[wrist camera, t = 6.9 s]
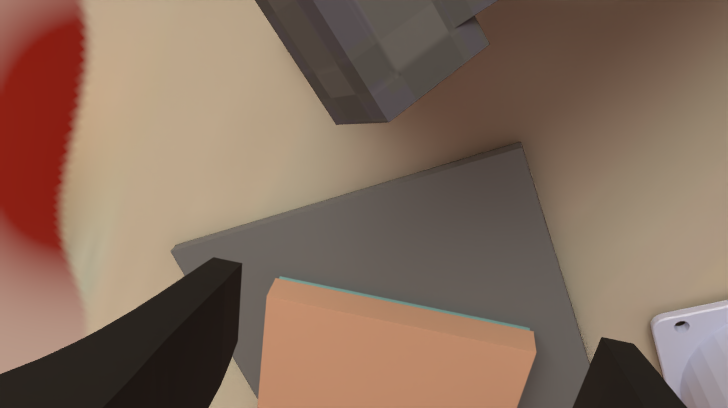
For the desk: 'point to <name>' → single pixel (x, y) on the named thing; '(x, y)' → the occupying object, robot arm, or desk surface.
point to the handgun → (376, 49)
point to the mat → (420, 260)
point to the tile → (385, 353)
